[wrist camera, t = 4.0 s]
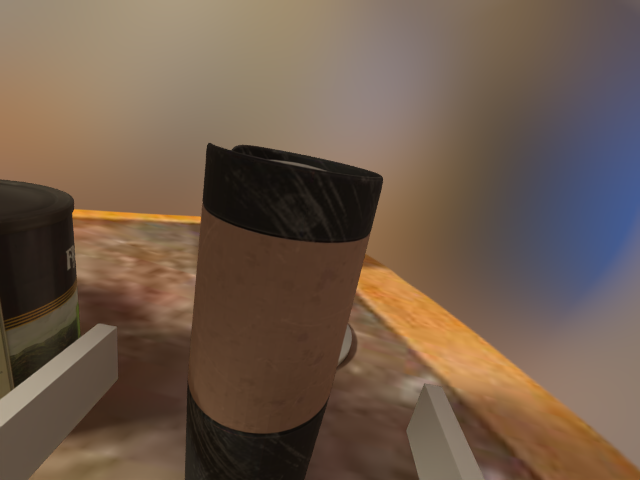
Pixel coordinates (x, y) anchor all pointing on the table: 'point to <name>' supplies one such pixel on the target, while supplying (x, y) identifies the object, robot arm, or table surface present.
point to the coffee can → (35, 279)
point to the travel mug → (271, 307)
